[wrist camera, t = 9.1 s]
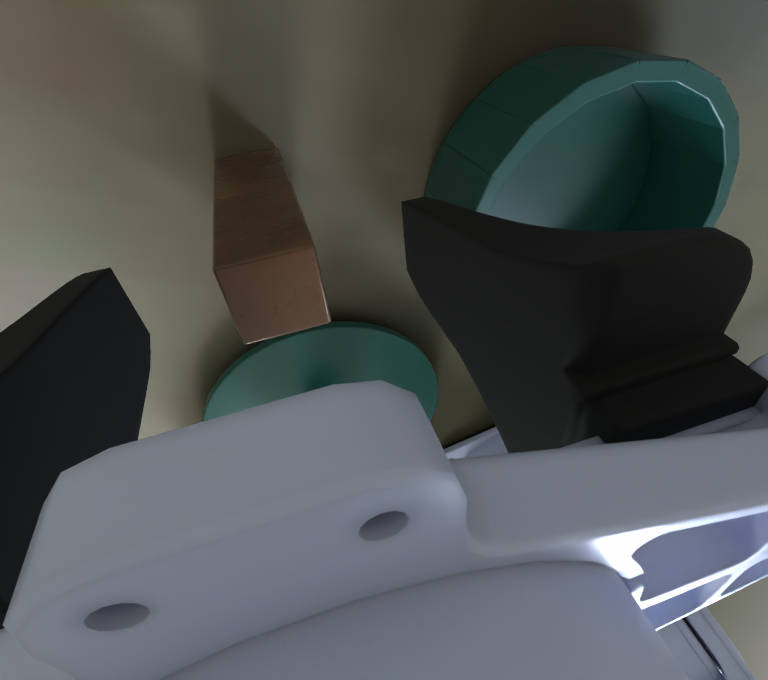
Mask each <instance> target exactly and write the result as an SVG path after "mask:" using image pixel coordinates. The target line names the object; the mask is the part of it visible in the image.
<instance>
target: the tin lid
mask: <svg viewBox="0 0 768 680" xmlns="http://www.w3.org/2000/svg"><path fill="white" fill-rule="evenodd" d="M377 380H382V381H384V382H387V383H390V384H392V385H395V386H397V387H400V388H402V389H405V390H407V391H410V392H413V393H415V394H416V396H417V397H418V399H419V401H420V403H421V405H422V407H423V409H424V411H425V413H426V415H427V417H428V419H429V421H431V419H432V417H433V415H434V412H435V409H436V405H437V399H438V382H437V377H436V374H435V371H434V369H433V366H432V364H431V363H430V361H429V359H428V358H427V356H426V355H425V353H424V352H423V351H422V350H421V349H420V348H419V347H418V346H417V345H416V344H415V343H414V342H413V341H411V340H410V339H408V338H407V337H406V336H404V335H402V334H400V333H398V332H396V331H394V330H391V329H388V328H386V327H383V326H380V325H375V324H370V323H365V322H353V321H334V322H330V323H327V324H323V325H319V326H316V327H312V328H308V329H304V330H300V331H297V332H293V333H289V334H285V335H281V336H278V337H274V338H270V339H268V340H266V341H264V342H261V343H260V344H258V345H257V346H255V347H253V348H252V349H250V350H249V351H247V352H246V353H244V354H243V355H242V356H241V357H239V358H238V359H237V360H236V361H234V362H233V363H232V364H231V365H230V366H229V367H228V368H227V369H226V370H225V372H224V373H223V374H222V375H221V376H220V378H219V379H218V380H217V382H216V383H215V385H214V386H213V388H212V390H211V392H210V394H209V396H208V398H207V400H206V403H205V407H204V410H203V419H202V422H203V421H207V420H210V419H214V418H217V417H221V416H224V415H228V414H231V413H235V412H238V411H242V410H245V409H249V408H252V407H256V406H259V405H263V404H266V403H270V402H273V401H277V400H280V399H284V398H287V397H291V396H294V395H298V394H301V393H305V392H308V391H312V390H315V389H319V388H323V387H326V386H330V385H333V384H344V383H355V382H366V381H377Z"/></svg>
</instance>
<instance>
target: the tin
mask: <svg viewBox="0 0 768 680" xmlns="http://www.w3.org/2000/svg"><path fill="white" fill-rule="evenodd" d="M738 157H739V117H738V113H737V111H736V109H735V107H734V105H733V103H732V101H731V98H730V96H729V94H728V92H727V90H726V88H725V86H724V84H723V82H722V81H721V79H720V78H718V77H716V76H715V75H713V74H711V73H710V72H708V71H706V70H705V69H703V68H701V67H700V66H698V65H696V64H695V63H693V62H691V61H690V60H686V59H681V58H675V57H669V56H663V55H657V54H651V53H645V52H639V51H633V50H626V49H620V48H614V47H608V46H582V45H573V46H567V47H560V48H555V49H552V50H549V51H546V52H542V53H539V54H537V55H535V56H533V57H531V58H528V59H526V60H524V61H522V62H520V63H518V64H517V65H515V66H514V67H512V68H511V69H509V70H508V71H506V72H505V73H503V74H502V75H500V76H499V77H498V78H497V79H495V80H494V81H493V82H492V83H491V84H489V85H488V86H487V87H486V88H485V89H484V90H483V91H482V92H481V93H480V94H479V95H478V96H477V97H476V98H475V99H474V100H473V101H472V102H471V103H470V104H469V105H468V107H467V108H466V109H465V110H464V112H463V113H462V114H461V116H460V117H459V118H458V120H457V121H456V122H455V124H454V125H453V127H452V129H451V130H450V132H449V133H448V135H447V137H446V138H445V140H444V142H443V144H442V146H441V148H440V150H439V152H438V154H437V156H436V158H435V161H434V164H433V166H432V169H431V172H430V175H429V178H428V182H427V186H426V191H425V195H424V197H429V198H434V199H438V200H441V201H445V202H448V203H451V204H454V205H458V206H461V207H464V208H467V209H470V210H474V211H477V212H480V213H484V214H487V215H491V216H495V217H499V218H503V219H507V220H511V221H515V222H520V223H525V224H531V225H538V226H544V227H550V228H559V229H570V230H584V231H607V232H628V231H659V230H672V229H685V228H699V227H712V228H713V227H714V225H715V223H716V221H717V219H718V217H719V215H720V214H721V212H722V210H723V208H724V206H725V204H726V201H727V199H728V195H729V192H730V188H731V185H732V181H733V178H734V174H735V171H736V167H737V164H738V160H739V158H738Z"/></svg>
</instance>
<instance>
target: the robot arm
mask: <svg viewBox="0 0 768 680" xmlns="http://www.w3.org/2000/svg"><path fill="white" fill-rule="evenodd" d="M401 203H402V216H403V228H404V240H405V252H406V265H407V271H408V273H409V275H410V278H411V280H412V282H413V284H414V286H415V288H416V290H417V292H418V294H419V296H420V298H421V299H422V301H423V302H424V304H425V305H426V307H427V308H428V310H429V311H430V313H431V314H432V316H433V317H434V319H435V320H436V321H437V323H438V324H439V326H440V327H441V329H442V330H443V332H444V333H445V334H446V336H447V337H448V339H449V340H450V342H451V343H452V345H453V346H454V347H455V349H456V350H457V352H458V354H459V355H460V357H461V358H462V360H463V362H464V363H465V365H466V367H467V369H468V371H469V373H470V375H471V377H472V379H473V381H474V382H475V384H476V386H477V388H478V390H479V392H480V394H481V396H482V398H483V400H484V402H485V404H486V406H487V408H488V410H489V412H490V415H491V417H492V419H493V421H494V423H495V425H496V427H494V428H491V429H489V430H487V431H485V432H482V433H480V434H478V435H475V436H473V437H471V438H468V439H466V440H464V441H462V442H459V443H457V444H455V445H452V446H450V447H448V448H446V449H444V450H443V448H442V446H441V443H440V441H439V439H438V437H437V435H436V433H435V431H434V429H433V427H432V425H431V423H430V421H429V419H428V417H427V415H426V413H425V411H424V409H423V407H422V405H421V403H420V401H419V399H418V397H417V396H416V394H415V393H413V392H410V391H407V390H405V389H402V388H400V387H397V386H395V385H392V384H390V383H387V382H384V381H382V380H377V381H366V382H355V383H344V384H333V385H330V386H326V387H323V388H319V389H315V390H312V391H308V392H305V393H301V394H298V395H294V396H291V397H287V398H284V399H280V400H277V401H273V402H270V403H266V404H263V405H259V406H256V407H252V408H249V409H245V410H242V411H238V412H235V413H231V414H228V415H224V416H221V417H217V418H214V419H210V420H207V421H203V422H200V423H196V424H193V425H189V426H186V427H182V428H179V429H175V430H172V431H168V432H165V433H161V434H158V435H154V436H151V437H147V438H144V439H140V440H138V435H139V429H140V424H141V418H142V413H143V407H144V402H145V396H146V391H147V385H148V379H149V373H150V355H151V351H150V333H149V332H148V330H147V328H146V327H145V325H144V323H143V322H142V320H141V318H140V317H139V315H138V313H137V312H136V310H135V308H134V306H133V305H132V303H131V301H130V300H129V298H128V296H127V295H126V293H125V291H124V290H123V288H122V286H121V285H120V283H119V281H118V280H117V278H116V276H115V275H114V273H113V271H112V269H111V268H106V269H102V270H97V271H93V272H88V273H84V274H82V275H80V276H78V277H76V278H74V279H72V280H71V281H69V282H68V283H66V284H65V285H63V286H62V287H61V288H59V289H58V290H56V291H55V292H54V293H52V294H51V295H50V296H48V297H47V298H46V299H45V300H43V301H42V302H41V303H39V304H38V305H37V306H35V307H34V308H33V309H32V310H30V311H29V312H28V313H26V314H25V315H24V316H22V317H21V318H20V319H18V320H17V321H16V322H14V323H13V324H12V325H10V326H9V327H7V328H6V329H5V330H3V331H2V332H0V680H756V678H755V677H754V676H753V674H752V673H751V672H750V670H749V669H748V668H747V666H746V663H745V661H744V660H743V658H742V656H741V655H740V653H739V652H738V650H737V649H736V647H735V646H734V644H733V643H732V642H731V640H730V639H729V637H728V636H727V635H726V633H725V632H724V630H723V629H722V628H721V626H720V625H719V624H718V622H717V621H716V620H715V619H714V617H713V616H712V615H711V613H710V612H709V611H708V609H707V608H706V606H707V605H709V604H711V603H714V602H716V601H718V600H719V599H722V598H724V597H726V596H728V595H730V594H732V593H734V592H736V591H738V590H740V589H742V588H744V587H746V586H748V585H750V584H752V583H754V582H756V581H759V580H761V579H763V578H765V577H767V576H768V353H767V354H765V355H763V356H761V357H759V358H757V359H756V360H755V361H754V362H752V363H751V364H750V365H749V366H747V365H745V364H744V363H743V362H741V361H740V360H738V359H737V358H736V357H734V356H733V355H732V354H735V353H737V351H738V349H739V346H738V343H737V342H735V341H734V340H732V339H731V338H729V337H728V336H727V335H725V334H724V331H725V330H726V328H727V326H728V324H729V322H730V320H731V318H732V316H733V314H734V312H735V311H736V309H737V307H738V305H739V303H740V301H741V299H742V297H743V295H744V293H745V291H746V289H747V286H748V284H749V281H750V279H751V273H752V265H753V260H752V256H751V252H750V249H749V248H748V247H747V246H746V245H745V244H744V243H743V242H742V241H741V240H739V239H737V238H735V237H733V236H731V235H728V234H726V233H724V232H722V231H720V230H718V229H716V228H712V227H699V228H685V229H672V230H659V231H628V232H607V231H584V230H570V229H559V228H550V227H544V226H538V225H531V224H525V223H520V222H515V221H511V220H507V219H503V218H499V217H495V216H491V215H487V214H484V213H480V212H477V211H474V210H470V209H467V208H464V207H461V206H458V205H454V204H451V203H448V202H445V201H441V200H438V199H434V198H429V197H420V198H416V199H412V200H407V201H403V202H401ZM714 663H715V664H714Z"/></svg>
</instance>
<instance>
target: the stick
mask: <svg viewBox="0 0 768 680" xmlns="http://www.w3.org/2000/svg"><path fill="white" fill-rule="evenodd" d="M213 272H214V275H215V277H216V279H217V282H218V284H219V287H220V289H221V291H222V294H223V296H224V298H225V301H226V303H227V306H228V308H229V310H230V313H231V315H232V318H233V320H234V322H235V325H236V327H237V329H238V332H239V334H240V337H241V339H242V341H243V343H244V344H251V343H255V342H259V341H262V340H266V339H270V338H274V337H278V336H281V335H285V334H289V333H293V332H297V331H300V330H304V329H308V328H312V327H316V326H319V325H323V324H327V323H330V322H331V315H330V310H329V306H328V302H327V297H326V293H325V289H324V284H323V280H322V276H321V271H320V267H319V263H318V258H317V254H316V250H315V246H314V243H313V240H312V238H311V235H310V232H309V230H308V227H307V224H306V221H305V219H304V216H303V213H302V211H301V208H300V205H299V203H298V200H297V197H296V194H295V192H294V189H293V186H292V184H291V181H290V178H289V176H288V173H287V170H286V168H285V165H284V162H283V159H282V157H281V154H280V151H279V149H278V148H273V149H268V150H263V151H258V152H253V153H248V154H243V155H238V156H232V157H227V158H222V159H217V160H215V161H214V201H213Z"/></svg>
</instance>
